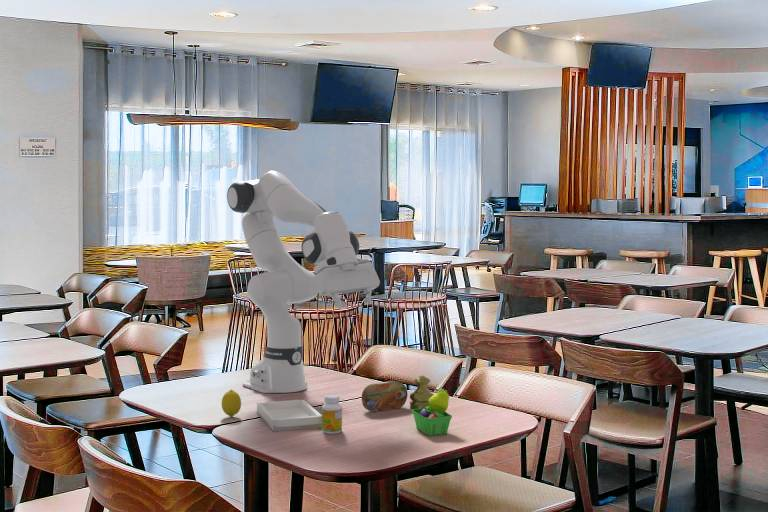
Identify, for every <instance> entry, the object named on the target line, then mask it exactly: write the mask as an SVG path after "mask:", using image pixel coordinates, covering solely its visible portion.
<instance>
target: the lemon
mask: <svg viewBox="0 0 768 512" xmlns="http://www.w3.org/2000/svg"><path fill="white" fill-rule="evenodd" d="M241 406H242V400H241V396H240V395H239V393H238V392H236V391H234V390H233V389H230V390H229V391H227V392H225V393H224V394H223V396H222V398H221V409H222V412H223V413H224V414H225V415H227V416H229V417H230V418H233V417H234V416H235V415H236V414H238V413H239V412H240V410H241Z"/></svg>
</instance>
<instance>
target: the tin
mask: <svg viewBox="0 0 768 512" xmlns="http://www.w3.org/2000/svg"><path fill="white" fill-rule="evenodd" d="M407 399H408V389H407V386H406V385H405V384H404V383H403V382H401V381H398V380H397V381H395V380H390V381H385V382H378V383H370V384H369V385H367V386H365V388H364V389H363V391H362V392H361V403H362V406H363V408H364V409H365V410H367V411H369V412H371V413H376V412H377V413H382V412H387V411H388V412H389V411H395V410H399V409H402V407H403V406H404V405H405V404H406V403H407Z"/></svg>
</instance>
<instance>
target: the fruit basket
mask: <svg viewBox="0 0 768 512" xmlns="http://www.w3.org/2000/svg"><path fill="white" fill-rule="evenodd" d="M449 400H450V394H449V393H448V390H446V389H444V388H440V389H438V390H437V392H436V393H435V394H434V395H433V396H432V397H430V398H429V405H430V407H424V408H423V409H413V410H411V413H412V414H413V418H414V422H415V426H416V429H418V430H420V431H422V432H423V433H424V434H427V435H428V436H429V437H431V436H439V435H447V434H448V430H449V426H450V423H451V420H452V417H453V415H452V414H450V413H448V412H447V410H448V408H449Z"/></svg>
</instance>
